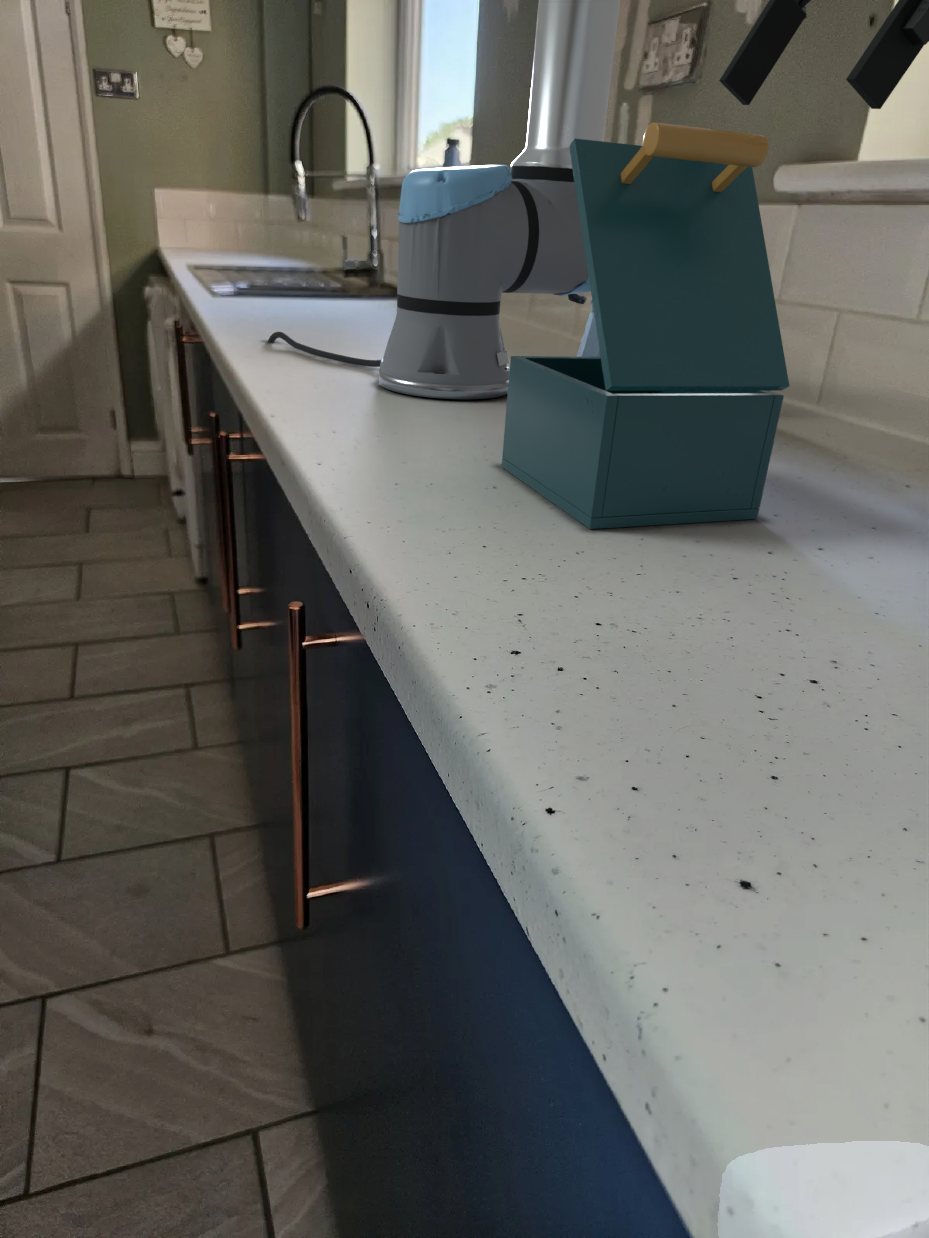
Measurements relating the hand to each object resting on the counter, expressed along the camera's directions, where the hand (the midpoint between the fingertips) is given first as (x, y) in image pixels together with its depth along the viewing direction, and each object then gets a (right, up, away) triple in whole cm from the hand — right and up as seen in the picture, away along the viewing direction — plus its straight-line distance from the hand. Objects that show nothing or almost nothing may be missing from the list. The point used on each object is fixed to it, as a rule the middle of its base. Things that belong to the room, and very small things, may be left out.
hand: (791, 94), depth 57 cm
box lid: (-7, -11, +1) cm, 13 cm away
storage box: (-9, -24, +10) cm, 28 cm away
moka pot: (-2, -1, +62) cm, 62 cm away
